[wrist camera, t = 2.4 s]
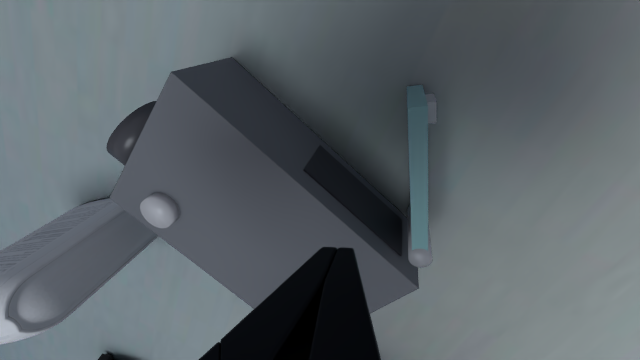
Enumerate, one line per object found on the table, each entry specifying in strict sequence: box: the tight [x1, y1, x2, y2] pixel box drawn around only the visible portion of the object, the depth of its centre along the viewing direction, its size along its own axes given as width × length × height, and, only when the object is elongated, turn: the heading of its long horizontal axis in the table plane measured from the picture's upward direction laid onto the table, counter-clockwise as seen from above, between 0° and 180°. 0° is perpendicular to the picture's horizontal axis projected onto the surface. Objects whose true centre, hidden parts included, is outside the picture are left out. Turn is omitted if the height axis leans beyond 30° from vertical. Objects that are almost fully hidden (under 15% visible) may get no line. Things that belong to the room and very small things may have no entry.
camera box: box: [107, 57, 419, 313], centre depth 19 cm, size 18×10×6 cm, turn 50°
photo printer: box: [0, 198, 158, 344], centre depth 22 cm, size 10×4×12 cm, turn 108°
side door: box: [407, 85, 437, 267], centre depth 16 cm, size 9×2×5 cm, turn 10°
